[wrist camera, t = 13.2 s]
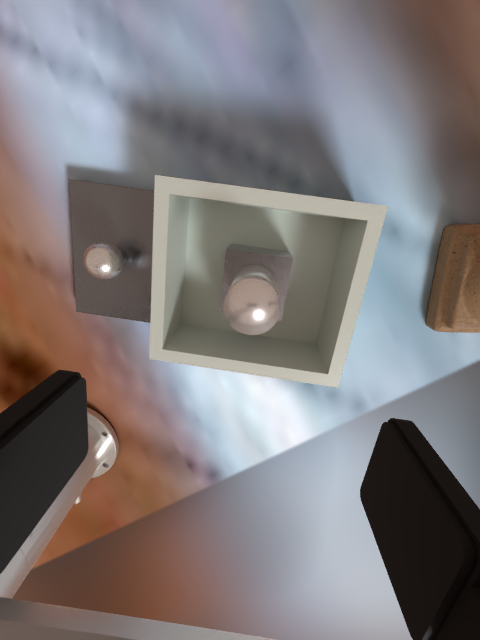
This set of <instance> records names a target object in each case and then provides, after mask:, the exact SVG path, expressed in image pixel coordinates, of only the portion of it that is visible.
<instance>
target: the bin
mask: <svg viewBox="0 0 480 640" xmlns="http://www.w3.org/2000/svg"><path fill="white" fill-rule="evenodd" d="M387 208H388V206H383V205H376V204H368V203H361V202H353V201H346V200H338V199H331V198H323V197H316V196H308V195H301V194H294V193H286V192H279V191H271V190H264V189H256V188H249V187H241V186H234V185H226V184H219V183H212V182H204V181H197V180H189V179H182V178H174V177H167V176H159V175H155V185H154V219H153V253H152V287H151V321H150V355H149V359H153V360H160V361H167V362H173V363H180V364H186V365H193V366H200V367H206V368H213V369H219V370H226V371H233V372H239V373H246V374H252V375H259V376H266V377H272V378H279V379H285V380H292V381H298V382H305V383H312V384H318V385H325V386H331V387H338V386H339V382H340V379H341V375H342V371H343V368H344V364H345V360H346V357H347V353H348V350H349V346H350V342H351V339H352V335H353V331H354V328H355V324H356V321H357V317H358V313H359V310H360V306H361V303H362V299H363V295H364V292H365V288H366V284H367V281H368V277H369V274H370V270H371V266H372V263H373V259H374V255H375V252H376V248H377V245H378V241H379V237H380V234H381V230H382V227H383V223H384V219H385V216H386V212H387ZM232 243H233V244H240V245H247V246H254V247H261V248H268V249H275V250H282V251H289V252H290V254H291V255H292V257H293V263H292V268H291V273H290V278H289V284H288V289H287V294H286V300H285V305H284V310H283V316H282V321H277V322H276V323H275V325H274V326H273V327H272V328H271V329H269V330H268V331H266V332H264V333H262V334H258V335H247V334H243V333H240V332H238V331H237V330H235V329H234V328H233V327H231V325H230V324H229V323H228V322H227V320H226V318H225V315H224V313H221V312H219V307H220V298H221V290H222V281H223V272H224V263H225V254H226V248H227V247H228V246H229V245H231V244H232Z"/></svg>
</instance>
